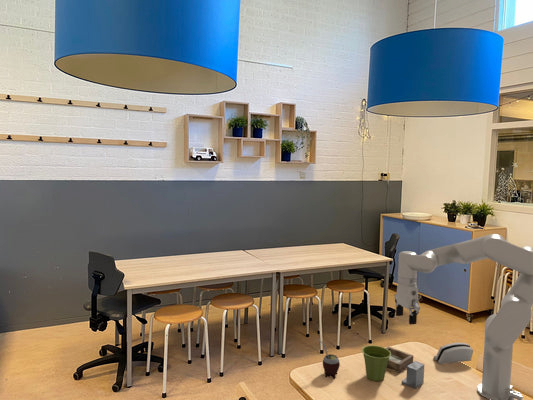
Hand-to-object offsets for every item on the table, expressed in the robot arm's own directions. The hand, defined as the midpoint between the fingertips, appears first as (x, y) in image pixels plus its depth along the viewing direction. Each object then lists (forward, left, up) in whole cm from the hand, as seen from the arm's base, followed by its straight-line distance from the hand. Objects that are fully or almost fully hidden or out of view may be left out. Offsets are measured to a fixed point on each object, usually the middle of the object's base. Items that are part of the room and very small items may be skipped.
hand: (405, 319), depth 172 cm
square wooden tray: (+7, -4, -23) cm, 24 cm away
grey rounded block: (-11, -26, -23) cm, 36 cm away
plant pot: (+6, +14, -23) cm, 27 cm away
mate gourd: (+20, +26, -23) cm, 40 cm away
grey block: (-8, +6, -23) cm, 25 cm away
